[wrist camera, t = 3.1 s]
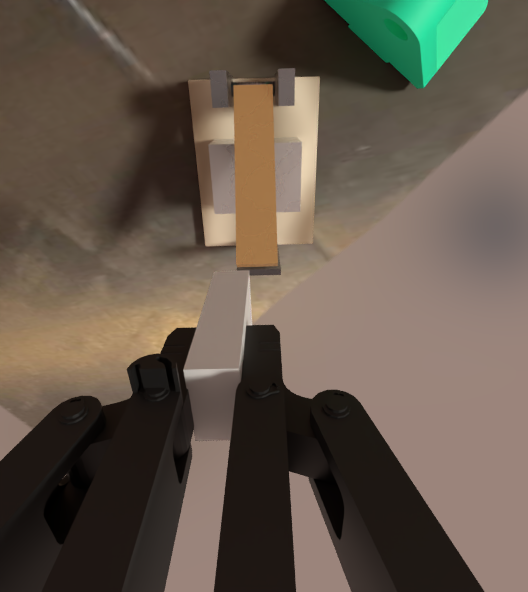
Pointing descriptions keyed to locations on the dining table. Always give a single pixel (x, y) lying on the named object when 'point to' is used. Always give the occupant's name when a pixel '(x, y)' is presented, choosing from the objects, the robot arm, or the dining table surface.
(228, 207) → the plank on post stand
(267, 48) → the dining table surface
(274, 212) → the tan wooden flat bar
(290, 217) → the board
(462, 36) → the camera mount
